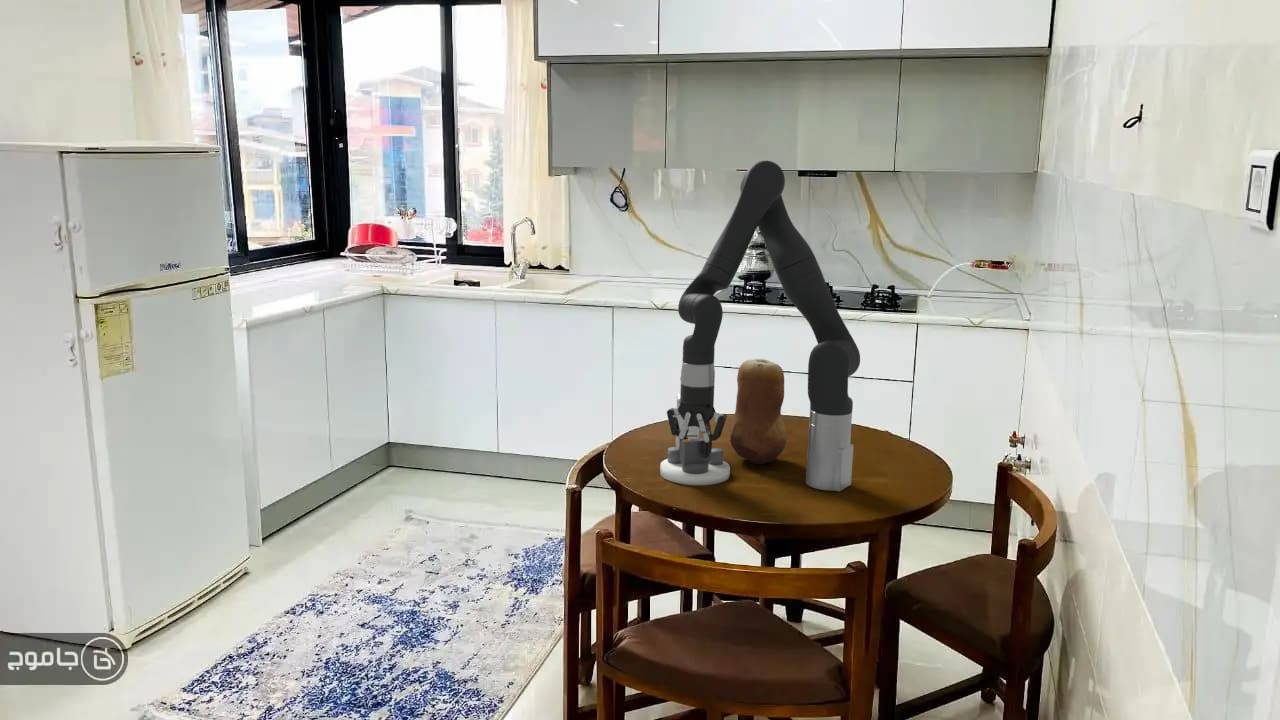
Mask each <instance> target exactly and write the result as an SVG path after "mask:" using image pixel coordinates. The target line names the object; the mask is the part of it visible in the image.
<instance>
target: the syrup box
mask: <svg viewBox="0 0 1280 720" xmlns="http://www.w3.org/2000/svg"><path fill="white" fill-rule="evenodd" d="M675 402H676V405H675V408H678V407H679V406H680V393H677V394H676V401H675ZM677 419H678V423H679V428H680V430H681V427H682V424H683V421H684V420H683V418H682V417H681V415H680V413H678V417H677ZM687 437H688V439H697V438H700V427H696V426H691V427H690V429H689V432H688V434H687ZM679 446H680V439H679V437H678V436H676V435H675V447H679Z"/></svg>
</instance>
